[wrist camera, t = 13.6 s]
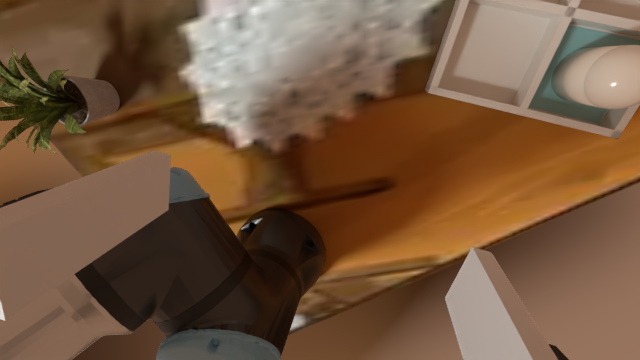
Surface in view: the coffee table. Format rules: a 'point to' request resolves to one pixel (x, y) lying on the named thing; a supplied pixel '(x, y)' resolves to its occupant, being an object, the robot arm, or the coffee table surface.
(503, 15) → the divided tray
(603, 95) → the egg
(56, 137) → the coffee table surface
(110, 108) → the house plant
